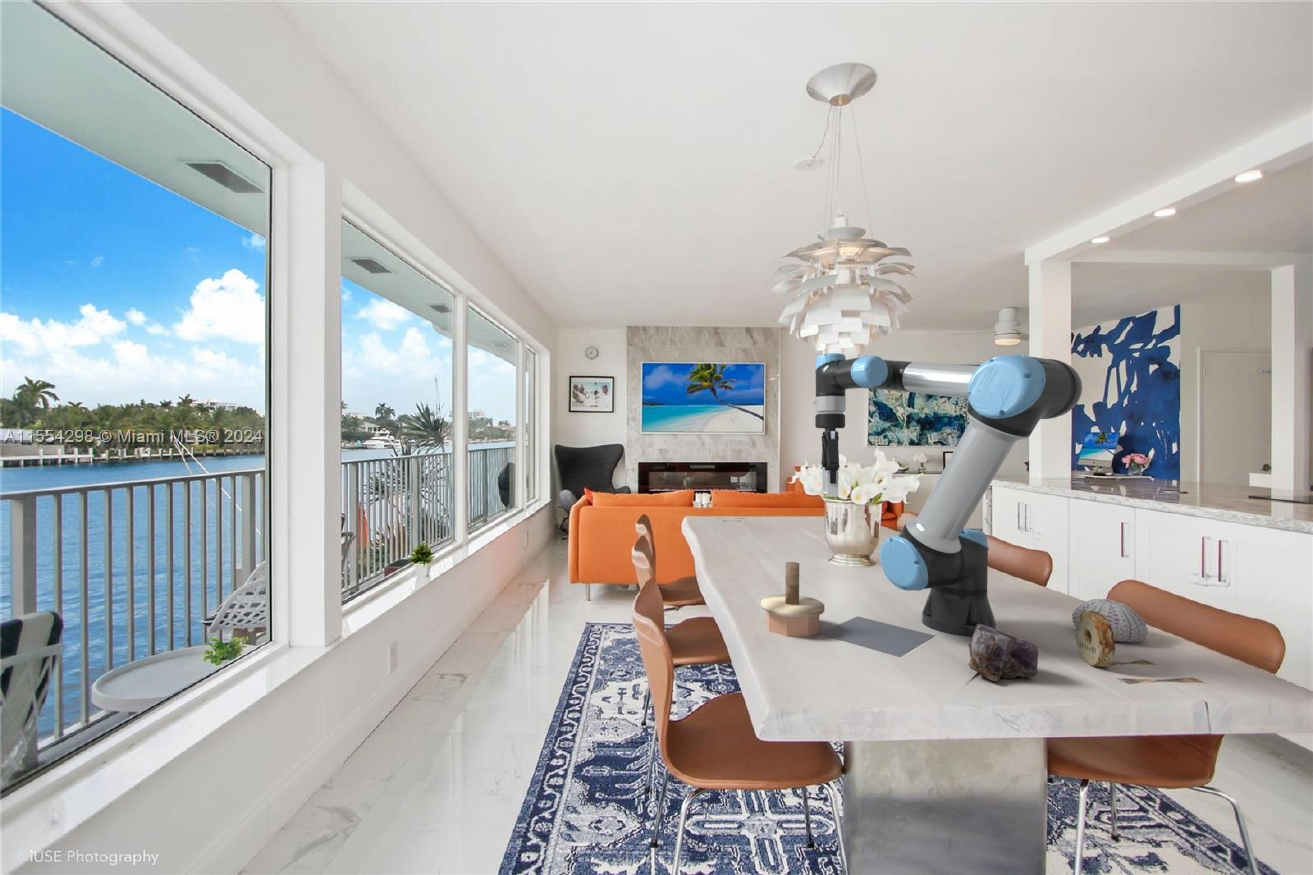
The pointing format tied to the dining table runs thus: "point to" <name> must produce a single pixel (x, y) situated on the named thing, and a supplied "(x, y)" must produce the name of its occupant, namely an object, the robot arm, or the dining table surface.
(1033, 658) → the rock
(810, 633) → the terracotta bowl
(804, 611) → the oak lid
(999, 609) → the dining table surface
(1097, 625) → the stone disc
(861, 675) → the dining table surface
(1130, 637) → the sea urchin shell
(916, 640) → the rubber mat
